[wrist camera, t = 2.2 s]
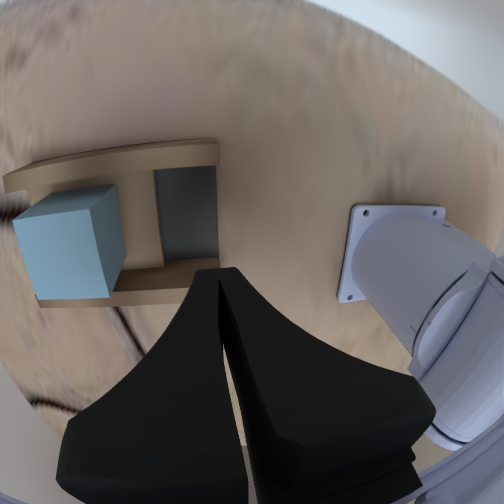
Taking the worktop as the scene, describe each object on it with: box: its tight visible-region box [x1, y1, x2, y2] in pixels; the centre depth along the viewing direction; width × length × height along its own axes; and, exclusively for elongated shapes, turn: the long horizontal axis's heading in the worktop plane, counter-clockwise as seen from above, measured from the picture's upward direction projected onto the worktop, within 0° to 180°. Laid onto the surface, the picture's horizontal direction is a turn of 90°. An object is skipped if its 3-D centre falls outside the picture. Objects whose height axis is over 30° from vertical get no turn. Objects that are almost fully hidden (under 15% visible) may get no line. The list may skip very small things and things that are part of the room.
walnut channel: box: [3, 138, 220, 308], centre depth 15 cm, size 12×8×4 cm
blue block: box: [13, 184, 127, 300], centre depth 13 cm, size 4×4×4 cm
